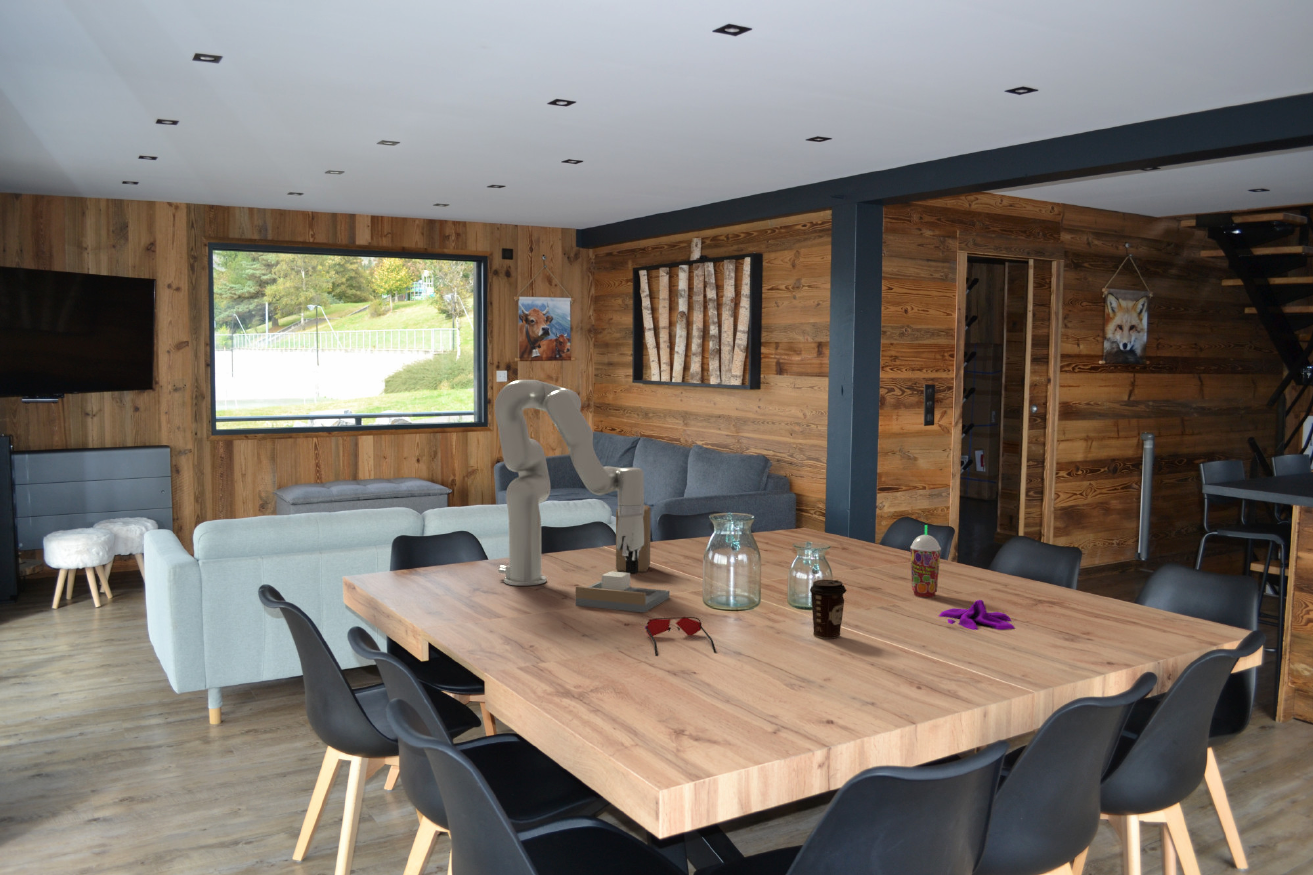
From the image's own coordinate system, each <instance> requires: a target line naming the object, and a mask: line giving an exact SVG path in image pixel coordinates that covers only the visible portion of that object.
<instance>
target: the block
mask: <svg viewBox="0 0 1313 875" xmlns="http://www.w3.org/2000/svg"><path fill="white" fill-rule="evenodd" d="M618 518H619V516H618V508H617V509H616V511H615V570H616V572H624V573H626V560H625V556H623V555H622V552H623V550H618V549H617V526H618ZM643 523H644V545H643V546H642V547H641V550H640V551H639V558H638V573H646V572H647V571H648V570H649V568H650V565H651V507H650V505H648V504H644V516H643ZM628 549H629V548H628Z"/></svg>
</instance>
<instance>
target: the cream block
mask: <svg viewBox="0 0 1313 875" xmlns="http://www.w3.org/2000/svg"><path fill="white" fill-rule="evenodd" d="M601 581H602V589H611V590H621V591H623V590H625V589H627V588H629V587H631V574H630V573H626V572H620V571H613V570H612V571H611V570H610V571H608V572H606V573H604V574H601Z"/></svg>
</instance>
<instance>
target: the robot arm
mask: <svg viewBox="0 0 1313 875" xmlns="http://www.w3.org/2000/svg"><path fill="white" fill-rule="evenodd" d="M581 408H582V402H581V397H580V396H579V395H578V393H577V392H575V391H574V390H572V389H568V388H565V387H561V386H558V385H554V384H552V383H547V382H544V381H541V380H537V379H517V380H514V381H512V382H509V383H508V384H506V385H505V386H503V387H502V389H501V390H500V391H499V392H498V394H497V396H496V399H495V402H494V413H495V414H494V415H495V421H496V424H497V429H498V435H499V436H498V437H499V441H500V442H499V443H500V446H501V454H502V458H503V462H504V465H505V467H506V468H507V469H508V471H510V472H511V471H512V472H514V473H518V477H516V478H515V479H513V480H512V481H511V482H510V483H509V484H508V486H507V489H506V492H505V494H506V496H505V498H506V505H507V506H506V507H507V512H508V513H507V514H508V515H507V517H508V561H509V562H508V565H507V566H506V565H500V566H499V567H498V573H499V574H505V576H504V578H503V582H504V584H506V585H509V586H521V587H523V586H524V587H525V586H527V587H528V586H537V585H542V584H545V583H546V582H547V576H546V575H543V574H542V518H541V516H542V515H541V512H540V504H541V503H544V502H545V501H547V499H548V498H549V496H550V494H551V488H552V487H551V481H550V480H551V479H550V474H549V469H548V465H547V464H548V463H547V458H546V454H545V451H544V448H543V446H542V445H541V444H540V442H538V441H537V440H535V439H533V438H530V434H529V430H528V424H527V421H526V418H525V416H524V410H526V409H537V410H540V411H544V412H547V415H548V416H549V418H550V420H551V421H552V424H553V425H554V426H555V428H556V429H557V431H558V434H560V436H561V438H562V439H563V441H564V443H565V444H566V446H567V449H568V453H569V457H570V459H571V463H572V465H573V467H574V469H575V471H576V473H577V475H578V476H579V478H580V479H581V481H582V483H583V485H584V486H585V488H586V489H587V490H588V491H589V492H590V493H592V494H593V495H596V496H603V495H606V494H608V493H612V492H615V491H617V509H618V516H619V518H618V526H617V549H618V550H623V552H622V555H623V556H625V560H626V572H625V573H630V575H637V574H638V573H639V572H638V558H639V551H640V550H641V547H642V546H643V545H644V523H643V516H644V505H645V498H644V497H645V495H644V494H645V492H644V490H645V489H644V488H645V487H644V471H643V469H641V468H639V467H615V466H608V465H607V466H606V465H605V466H603V464H602V463H601V462H600V460H599V458H598V456H597V453H596V452H595V448H594V444H593V443H594V442H593V441H594V434H593V430H592V428H591V426H590V425H589V423H588V421H587V420H586V418H585V417H584V415H583V413H582V411H581ZM628 548H629V549H628Z"/></svg>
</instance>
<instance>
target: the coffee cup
mask: <svg viewBox="0 0 1313 875" xmlns="http://www.w3.org/2000/svg"><path fill="white" fill-rule="evenodd" d="M809 591H810V593H811V607H812V609H811V610H812V623H813V624H812V626H813V634H812V635H813V637H816V638H819V639H828V640H829V639H836V638H840V636H841V628H842V623H843V614H844V606H845V598H844V594H846V592H847V589H846V587H845V585H843V582H842V581H840V580H838V579H834V580H833V579H818V580H815V581H813V584H812V586H811V587H810V589H809Z"/></svg>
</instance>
